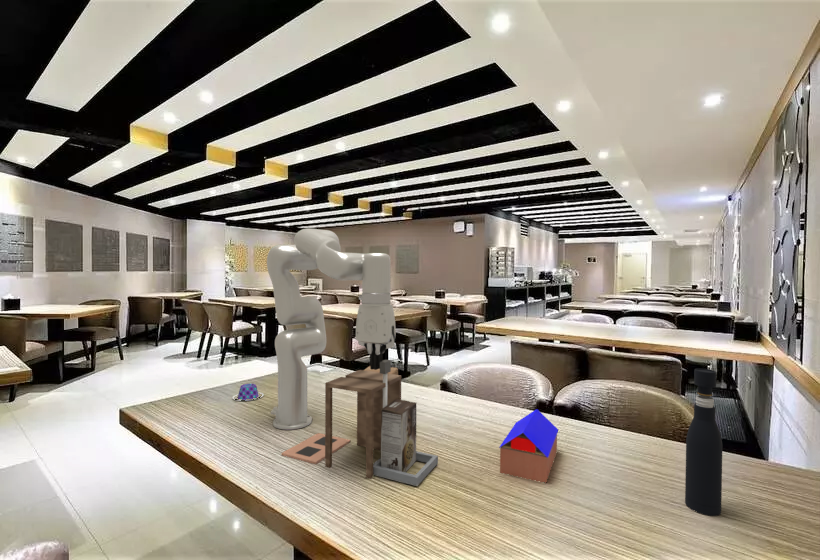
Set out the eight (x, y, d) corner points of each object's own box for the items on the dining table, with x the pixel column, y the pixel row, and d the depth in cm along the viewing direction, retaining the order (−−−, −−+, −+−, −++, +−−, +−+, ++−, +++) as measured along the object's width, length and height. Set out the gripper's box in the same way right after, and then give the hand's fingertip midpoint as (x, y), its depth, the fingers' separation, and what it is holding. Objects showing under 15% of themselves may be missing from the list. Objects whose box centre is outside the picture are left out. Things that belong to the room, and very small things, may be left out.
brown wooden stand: (325, 466, 106) (325, 382, 106) (358, 443, 120) (359, 369, 120) (371, 478, 100) (371, 389, 100) (400, 453, 114) (401, 375, 114)
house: (558, 453, 116) (558, 412, 116) (547, 485, 98) (548, 437, 98) (515, 444, 121) (516, 405, 121) (498, 473, 103) (498, 428, 103)
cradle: (369, 473, 102) (369, 365, 101) (393, 453, 114) (394, 356, 113) (417, 486, 96) (417, 371, 96) (437, 463, 108) (438, 361, 107)
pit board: (281, 455, 113) (281, 452, 113) (318, 434, 127) (318, 432, 127) (315, 464, 107) (315, 461, 107) (350, 442, 122) (350, 439, 122)
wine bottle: (678, 499, 92) (680, 367, 91) (704, 498, 92) (707, 366, 92) (700, 516, 85) (703, 374, 85) (729, 515, 86) (731, 373, 85)
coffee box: (395, 456, 112) (396, 398, 112) (416, 461, 109) (417, 401, 109) (379, 471, 104) (380, 408, 103) (402, 476, 101) (403, 412, 101)
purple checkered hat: (253, 403, 158) (253, 390, 158) (225, 401, 160) (225, 388, 160) (269, 394, 170) (269, 382, 170) (243, 392, 172) (243, 380, 172)
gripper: (344, 299, 108) (344, 368, 108) (394, 301, 101) (394, 374, 102) (360, 298, 115) (360, 363, 115) (407, 299, 108) (407, 368, 108)
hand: (376, 368), depth 108 cm, fingers closed
